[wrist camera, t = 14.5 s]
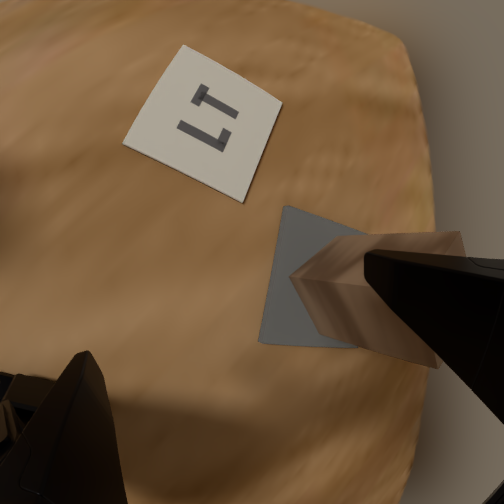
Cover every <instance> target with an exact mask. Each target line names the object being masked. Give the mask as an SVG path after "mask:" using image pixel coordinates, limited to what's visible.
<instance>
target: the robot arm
mask: <svg viewBox="0 0 504 504" xmlns="http://www.w3.org/2000/svg"><path fill="white" fill-rule="evenodd" d="M364 278H365V280H366V282H367V283H368V284H369V285H370V286H371V287H372V289H373V290H374V291H375V292H376V293H377V294H378V295H379V297H380V298H381V299H382V300H383V301H384V302H385V304H386V305H387V306H388V307H389V308H390V309H391V310H392V311H393V312H394V313H395V314H396V315H397V316H398V317H399V318H400V319H401V320H402V321H403V322H404V323H405V324H406V325H407V326H408V327H409V328H410V329H411V330H412V331H413V332H414V333H415V334H416V335H418V336H419V337H420V338H421V339H422V340H423V341H424V342H425V343H426V344H427V345H428V346H429V347H430V348H431V349H432V350H433V351H434V352H435V353H436V354H437V355H438V356H439V357H440V358H441V359H442V360H443V361H444V362H445V363H446V364H447V365H448V366H449V367H450V368H451V369H452V370H453V371H454V372H455V373H456V374H457V375H458V376H459V377H460V378H461V380H463V382H465V384H466V385H467V386H468V387H469V388H470V389H472V391H473V392H474V393H475V394H476V395H477V396H478V397H479V399H480V400H482V402H483V403H484V404H485V405H486V406H487V407H488V408H489V409H490V410H491V411H492V412H493V414H494V415H495V416H496V417H497V418H498V419H499V420H500V421H501V422H502V423H503V424H504V259H486V258H473V257H463V256H452V255H441V254H429V253H418V252H406V251H394V250H382V249H373V250H371V251H368V252H366V253H365V254H364ZM0 504H128V502H127V497H126V492H125V488H124V483H123V477H122V472H121V466H120V461H119V454H118V448H117V441H116V434H115V427H114V421H113V417H112V412H111V408H110V404H109V399H108V395H107V390H106V385H105V380H104V377H103V374H102V372H101V370H100V368H99V366H98V365H97V363H96V361H95V359H94V357H93V356H92V354H91V353H90V352H89V351H83V352H80V353H77V354H76V355H75V356H74V357H73V359H72V360H71V361H70V363H69V364H68V365H67V367H66V368H65V370H64V371H63V372H62V374H61V375H60V377H59V378H58V379H57V381H56V382H55V384H54V382H53V381H49V380H44V379H40V378H35V377H31V376H26V375H22V374H16V375H15V376H14V375H10V374H6V373H3V372H0ZM482 504H504V480H503V481H502V482H501V484H500V485H499V486H498V487H497V488H496V489H495V490H494V491H493V493H492V494H491V495H490V496H489V497H488V498H487V499H486V500H485V501H484V502H483V503H482Z"/></svg>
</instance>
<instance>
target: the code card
mask: <svg viewBox="0 0 504 504" xmlns="http://www.w3.org/2000/svg"><path fill="white" fill-rule="evenodd" d="M281 105H282V102H281V101H279V100H278V99H276V98H275V97H273V96H272V95H270V94H268V93H267V92H265V91H264V90H262V89H261V88H259V87H257V86H256V85H254V84H253V83H251V82H249V81H248V80H246V79H244V78H243V77H241V76H239V75H238V74H236V73H234V72H233V71H231V70H229V69H227V68H226V67H224V66H222V65H220V64H219V63H217V62H215V61H213V60H211V59H210V58H208V57H206V56H204V55H202V54H200V53H198V52H197V51H195V50H193V49H191V48H189V47H187V46H185V45H183V46H182V47H181V49H180V50H179V51H178V53H177V54H176V56H175V57H174V59H173V60H172V62H171V63H170V65H169V66H168V68H167V69H166V71H165V72H164V74H163V75H162V77H161V78H160V80H159V81H158V83H157V85H156V86H155V88H154V89H153V91H152V92H151V94H150V96H149V97H148V99H147V101H146V102H145V104H144V106H143V107H142V109H141V111H140V112H139V114H138V116H137V118H136V119H135V121H134V123H133V125H132V127H131V128H130V130H129V132H128V134H127V136H126V137H125V139H124V141H123V143H122V144H123V145H125V146H127V147H129V148H131V149H133V150H135V151H137V152H140V153H142V154H144V155H146V156H148V157H150V158H152V159H154V160H156V161H158V162H160V163H162V164H165V165H167V166H169V167H171V168H173V169H175V170H177V171H179V172H181V173H183V174H185V175H187V176H189V177H191V178H193V179H195V180H197V181H199V182H201V183H203V184H205V185H207V186H209V187H211V188H213V189H215V190H217V191H219V192H221V193H223V194H225V195H227V196H229V197H231V198H233V199H235V200H237V201H238V202H240V203H243V201H244V198H245V196H246V193H247V191H248V188H249V185H250V183H251V180H252V178H253V175H254V173H255V170H256V168H257V165H258V162H259V160H260V157H261V155H262V152H263V150H264V147H265V145H266V142H267V140H268V137H269V135H270V132H271V130H272V127H273V125H274V122H275V120H276V118H277V115H278V113H279V110H280V108H281Z"/></svg>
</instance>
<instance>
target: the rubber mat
mask: <svg viewBox="0 0 504 504" xmlns="http://www.w3.org/2000/svg"><path fill="white" fill-rule="evenodd" d="M347 235H368V234H366V233H363V232H360V231H358V230H355V229H352V228H350V227H347V226H344V225H342V224H339V223H336V222H333V221H331V220H328V219H325V218H322V217H320V216H317V215H314V214H311V213H308V212H305V211H303V210H300V209H297V208H294V207H291V206H283V212H282V218H281V223H280V229H279V234H278V240H277V245H276V251H275V256H274V261H273V267H272V272H271V277H270V283H269V288H268V293H267V298H266V303H265V309H264V314H263V319H262V324H261V329H260V334H259V339H258V342H260V343H264V344H278V345H293V346H311V347H336V348H358V346H355V345H352V344H349V343H346V342H343V341H339V340H336V339H333V338H330V337H327V336H324V335H321V334H319V333H318V331H317V329H316V327H315V325H314V323H313V321H312V319H311V318H310V316H309V314H308V312H307V310H306V308H305V306H304V304H303V303H302V301H301V299H300V297H299V295H298V293H297V291H296V290H295V288H294V286H293V284H292V282H291V280H290V278H289V277H288V276H290V275H291V274H292V273H293V272H295V271H296V270H297V269H298V268H299V267H301V266H302V265H303V264H304V263H305V262H307V261H308V260H309V259H310V258H311V257H313V256H314V255H315V254H316V253H317V252H319V251H320V250H321V249H322V248H323V247H325V246H326V245H327V244H328V243H329V242H330V241H332V240H333V239H334V238H335V237H336V236H347Z"/></svg>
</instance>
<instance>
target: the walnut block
mask: <svg viewBox="0 0 504 504" xmlns="http://www.w3.org/2000/svg"><path fill="white" fill-rule="evenodd" d="M373 249H382V250H394V251H406V252H418V253H429V254H441V255H452V256H463V257H466V254H465V250H464V246H463V242H462V238H461V234H460V231H452V232H423V233H396V234H371V235H347V236H336V237H335V238H334V239H333V240H332V241H330V242H329V243H328V244H327V245H326V246H325V247H323V248H322V249H321V250H320V251H319V252H317V253H316V254H315V255H314V256H313V257H311V258H310V259H309V260H308V261H307V262H305V263H304V264H303V265H302V266H301V267H299V268H298V269H297V270H296V271H295V272H293V273H292V274H291V275H290V276H288V277H289V278H290V280H291V282H292V284H293V286H294V288H295V290H296V291H297V293H298V295H299V297H300V299H301V301H302V303H303V304H304V306H305V308H306V310H307V312H308V314H309V316H310V318H311V319H312V321H313V323H314V325H315V327H316V329H317V331H318V333H319V334H321V335H324V336H327V337H330V338H333V339H336V340H339V341H343V342H346V343H349V344H352V345H355V346H359V347H362V348H365V349H368V350H372V351H375V352H378V353H382V354H385V355H389V356H392V357H395V358H399V359H402V360H406V361H409V362H413V363H417V364H420V365H424V366H427V367H432V368H435V369H439V367H440V366H441V364H442V362H443V360H442V359H441V358H440V357H439V356H438V355H437V354H436V353H435V352H434V351H433V350H432V349H431V348H430V347H429V346H428V345H427V344H426V343H425V342H424V341H423V340H422V339H421V338H420V337H419V336H418V335H416V334H415V333H414V332H413V331H412V330H411V329H410V328H409V327H408V326H407V325H406V324H405V323H404V322H403V321H402V320H401V319H400V318H399V317H398V316H397V315H396V314H395V313H394V312H393V311H392V310H391V309H390V308H389V307H388V306H387V305H386V304H385V302H384V301H383V300H382V299H381V298H380V297H379V295H378V294H377V293H376V292H375V291H374V290H373V289H372V287H371V286H370V285H369V284H368V283H367V282H366V280H365V278H364V254H365V253H366V252H368V251H371V250H373Z"/></svg>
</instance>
